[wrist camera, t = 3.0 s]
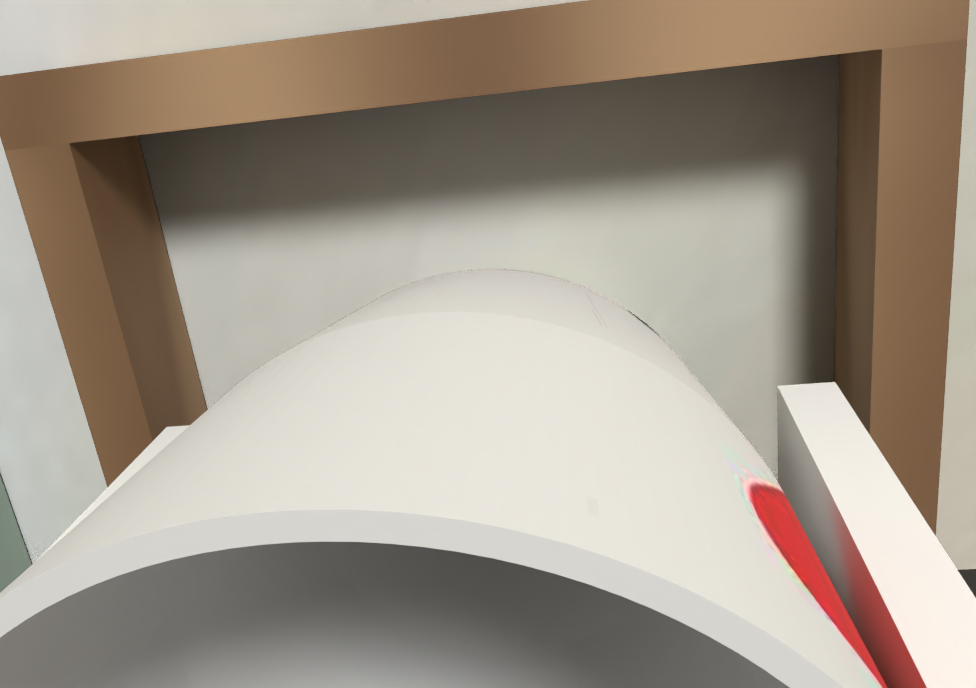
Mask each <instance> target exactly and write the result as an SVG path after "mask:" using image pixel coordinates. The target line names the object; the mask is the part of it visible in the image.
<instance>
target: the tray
mask: <svg viewBox="0 0 976 688" xmlns="http://www.w3.org/2000/svg"><path fill="white" fill-rule="evenodd" d="M31 565H32V564H31V561H30V558H29V556H28V553H27V550H26V547H25V544H24V541H23V538H22V536H21V533H20V530H19V527H18V524H17V521H16V519H15V516H14V513H13V510H12V507H11V504H10V502H9V499H8V496H7V493H6V490H5V487H4V484H3V482H2V479H1V476H0V593H1V592H2V591H3V590H4V589H5V588H6V587H7V586H8V585H10V584H11V583H12V582H13V581H14V580H15V579H16V578H18V577H19V576H20V575H21V574H22V573H23V572H24V571H25V570H27V569H28V568H29V567H30V566H31Z"/></svg>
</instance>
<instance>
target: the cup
mask: <svg viewBox="0 0 976 688" xmlns="http://www.w3.org/2000/svg"><path fill="white" fill-rule="evenodd" d="M0 688H888V687H887V686H886V684H885V682H884V680H883V678H882V676H881V674H880V672H879V671H878V669H877V667H876V665H875V663H874V661H873V659H872V657H871V656H870V654H869V652H868V650H867V648H866V646H865V644H864V642H863V640H862V639H861V637H860V635H859V633H858V631H857V629H856V627H855V625H854V624H853V622H852V620H851V618H850V616H849V614H848V612H847V610H846V609H845V607H844V605H843V603H842V601H841V599H840V597H839V595H838V594H837V592H836V590H835V588H834V586H833V584H832V582H831V580H830V579H829V577H828V575H827V573H826V571H825V569H824V567H823V565H822V563H821V562H820V560H819V558H818V556H817V554H816V552H815V550H814V548H813V547H812V545H811V543H810V541H809V539H808V537H807V535H806V533H805V532H804V530H803V528H802V526H801V524H800V522H799V520H798V518H797V517H796V515H795V513H794V511H793V509H792V507H791V505H790V503H789V501H788V500H787V498H786V496H785V494H784V492H783V491H782V489H781V487H780V485H779V483H778V482H777V480H776V479H775V477H774V476H773V474H772V472H771V471H770V469H769V468H768V467H767V465H766V464H765V462H764V461H763V459H762V458H761V457H760V455H759V454H758V453H757V452H756V450H755V449H754V448H753V447H752V445H751V444H750V443H749V442H748V440H747V439H746V438H745V437H744V436H743V434H742V433H741V432H740V431H739V430H738V428H737V427H736V426H735V425H734V423H733V422H732V421H731V420H730V419H729V417H728V416H727V415H726V414H725V412H724V411H723V410H722V409H721V408H720V406H719V405H718V404H717V403H716V402H715V400H714V399H713V398H712V397H711V395H710V394H709V393H708V392H707V391H706V389H705V388H704V387H703V386H702V385H701V383H700V382H699V381H698V380H697V378H696V377H695V376H694V375H693V374H692V372H691V371H690V370H689V369H688V367H687V366H686V365H685V364H684V363H683V361H682V360H681V359H680V358H679V357H678V355H677V354H676V353H675V352H674V351H673V349H672V348H671V347H670V346H669V345H668V344H667V343H666V342H665V341H664V340H663V339H662V338H661V337H660V336H659V335H658V334H657V333H656V332H655V331H654V330H653V329H652V328H650V327H649V326H648V325H647V324H646V323H644V322H643V321H642V320H640V319H639V318H638V317H636V316H635V315H634V314H632V313H631V312H629V311H628V310H626V309H625V308H623V307H622V306H620V305H618V304H617V303H615V302H613V301H612V300H610V299H608V298H606V297H604V296H602V295H600V294H598V293H596V292H594V291H591V290H589V289H587V288H584V287H582V286H579V285H576V284H574V283H571V282H568V281H565V280H561V279H558V278H554V277H550V276H546V275H541V274H536V273H530V272H524V271H515V270H499V269H482V270H467V271H459V272H452V273H446V274H441V275H437V276H433V277H429V278H425V279H422V280H419V281H416V282H413V283H410V284H407V285H405V286H402V287H400V288H398V289H395V290H393V291H391V292H389V293H387V294H385V295H383V296H381V297H379V298H378V299H376V300H374V301H372V302H371V303H369V304H367V305H365V306H364V307H362V308H360V309H359V310H357V311H355V312H353V313H352V314H350V315H348V316H346V317H345V318H343V319H341V320H339V321H338V322H336V323H334V324H333V325H331V326H329V327H327V328H326V329H324V330H322V331H320V332H319V333H317V334H315V335H313V336H312V337H310V338H308V339H307V340H305V341H303V342H301V343H300V344H298V345H296V346H294V347H293V348H291V349H289V350H287V351H286V352H284V353H282V354H281V355H279V356H277V357H275V358H274V359H272V360H270V361H269V362H267V363H266V364H264V365H262V366H261V367H259V368H258V369H256V370H255V371H254V372H252V373H251V374H249V375H248V376H247V377H245V378H244V379H243V380H242V381H240V382H239V383H238V384H237V385H235V386H234V387H233V388H232V389H231V390H229V391H228V392H227V393H226V394H225V395H224V396H223V397H222V398H220V399H219V400H218V401H217V402H216V403H215V404H214V405H212V406H211V407H210V408H209V409H208V410H207V411H206V412H205V413H203V414H202V415H201V416H200V417H199V418H198V419H197V420H195V421H194V422H193V423H192V424H191V425H190V426H189V427H188V428H186V429H185V430H184V431H183V432H182V433H181V434H180V435H178V436H177V437H176V438H175V439H174V440H173V441H172V442H171V443H169V444H168V445H167V446H166V447H165V448H164V449H163V450H161V451H160V452H159V453H158V454H157V455H156V456H155V457H154V458H152V459H151V460H150V461H149V462H148V463H147V464H146V465H144V466H143V467H142V468H141V469H140V470H139V471H138V472H137V473H135V474H134V475H133V476H132V477H131V478H130V479H129V480H127V481H126V482H125V483H124V484H123V485H122V486H121V487H120V488H118V489H117V490H116V491H115V492H114V493H113V494H112V495H110V496H109V497H108V498H107V499H106V500H105V501H104V502H103V503H101V504H100V505H99V506H98V507H97V508H96V509H95V510H93V511H92V512H91V513H90V514H89V515H88V516H87V517H86V518H84V519H83V520H82V521H81V522H80V523H79V524H78V525H76V526H75V527H74V528H73V529H72V530H71V531H70V532H69V533H67V534H66V535H65V536H64V537H63V538H62V539H61V540H59V541H58V542H57V543H56V544H55V545H54V546H53V547H52V548H50V549H49V550H48V551H47V552H46V553H45V554H44V555H42V556H41V557H40V558H39V559H38V560H37V561H36V562H35V563H33V564H32V565H31V566H30V567H29V568H28V569H27V570H25V571H24V572H23V573H22V574H21V575H20V576H19V577H18V578H16V579H15V580H14V581H13V582H12V583H11V584H10V585H8V586H7V587H6V588H5V589H4V590H3V591H2V592H1V593H0Z"/></svg>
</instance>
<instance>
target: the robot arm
mask: <svg viewBox="0 0 976 688" xmlns="http://www.w3.org/2000/svg"><path fill="white" fill-rule="evenodd" d="M777 399H778V483H779V485H780V487H781V489H782V491H783V492H784V494H785V496H786V498H787V500H788V501H789V503H790V505H791V507H792V509H793V511H794V513H795V515H796V517H797V518H798V520H799V522H800V524H801V526H802V528H803V530H804V532H805V533H806V535H807V537H808V539H809V541H810V543H811V545H812V547H813V548H814V550H815V552H816V554H817V556H818V558H819V560H820V562H821V563H822V565H823V567H824V569H825V571H826V573H827V575H828V577H829V579H830V580H831V582H832V584H833V586H834V588H835V590H836V592H837V594H838V595H839V597H840V599H841V601H842V603H843V605H844V607H845V609H846V610H847V612H848V614H849V616H850V618H851V620H852V622H853V624H854V625H855V627H856V629H857V631H858V633H859V635H860V637H861V639H862V640H863V642H864V644H865V646H866V648H867V650H868V652H869V654H870V656H871V657H872V659H873V661H874V663H875V665H876V667H877V669H878V671H879V672H880V674H881V676H882V678H883V680H884V682H885V684H886V686H887V687H888V688H976V569H969V570H957V568H956V567H955V565H954V564H953V562H952V561H951V559H950V558H949V556H948V555H947V553H946V552H945V550H944V548H943V547H942V545H941V544H940V542H939V541H938V539H937V538H936V536H935V535H934V533H933V532H932V530H931V528H930V527H929V525H928V524H927V522H926V521H925V519H924V518H923V516H922V515H921V513H920V512H919V510H918V508H917V507H916V505H915V504H914V502H913V501H912V499H911V498H910V496H909V495H908V493H907V492H906V490H905V489H904V487H903V485H902V484H901V482H900V481H899V479H898V478H897V476H896V475H895V473H894V472H893V470H892V469H891V467H890V465H889V464H888V462H887V461H886V459H885V458H884V456H883V455H882V453H881V452H880V450H879V449H878V447H877V445H876V444H875V442H874V441H873V439H872V438H871V436H870V435H869V433H868V432H867V430H866V429H865V427H864V426H863V424H862V422H861V421H860V419H859V418H858V416H857V415H856V413H855V412H854V410H853V409H852V407H851V406H850V404H849V402H848V401H847V399H846V398H845V396H844V395H843V393H842V392H841V390H840V389H839V387H838V386H837V384H836V382H827V383H812V384H797V385H782V386H777ZM189 426H190V425H187V426H173V427H166V428H165V429H164V430H163V431H162V432H161V433H160V434H159V435H158V436H157V437H156V438H155V440H154V441H153V442H152V443H151V444H150V445H149V446H148V447H147V448H146V449H145V450H144V451H143V452H142V453H141V454H140V455H139V456H138V457H137V458H136V459H135V460H134V461H133V462H132V463H131V464H130V465H129V466H128V467H127V468H126V469H125V470H124V471H123V472H122V473H121V474H120V475H119V476H118V477H117V478H116V479H115V480H114V481H113V482H112V484H111V485H110V486H109V487H108V488H107V489H106V490H105V491H104V492H103V493H102V494H101V495H100V496H99V497H98V498H97V499H96V500H95V501H94V502H93V503H92V504H91V505H90V506H89V507H88V508H87V509H86V510H85V511H84V512H83V513H82V514H81V515H80V516H79V517H78V518H77V519H76V520H75V521H74V522H73V523H72V524H71V525H70V527H69V528H68V529H67V530H66V531H65V532H64V533H63V534H62V535H61V536H60V537H59V538H58V539H57V540H56V541H55V542H54V543H53V544H52V545H51V546H50V547H49V548H48V549H47V550H46V551H45V552H44V553H43V554H42V555H44V554H45V553H46V552H47V551H48V550H49V549H50V548H52V547H53V546H54V545H55V544H56V543H57V542H58V541H59V540H61V539H62V538H63V537H64V536H65V535H66V534H67V533H69V532H70V531H71V530H72V529H73V528H74V527H75V526H76V525H78V524H79V523H80V522H81V521H82V520H83V519H84V518H86V517H87V516H88V515H89V514H90V513H91V512H92V511H93V510H95V509H96V508H97V507H98V506H99V505H100V504H101V503H103V502H104V501H105V500H106V499H107V498H108V497H109V496H110V495H112V494H113V493H114V492H115V491H116V490H117V489H118V488H120V487H121V486H122V485H123V484H124V483H125V482H126V481H127V480H129V479H130V478H131V477H132V476H133V475H134V474H135V473H137V472H138V471H139V470H140V469H141V468H142V467H143V466H144V465H146V464H147V463H148V462H149V461H150V460H151V459H152V458H154V457H155V456H156V455H157V454H158V453H159V452H160V451H161V450H163V449H164V448H165V447H166V446H167V445H168V444H169V443H171V442H172V441H173V440H174V439H175V438H176V437H177V436H178V435H180V434H181V433H182V432H183V431H184V430H185V429H186V428H188V427H189ZM42 555H41V556H42ZM41 556H40V557H41ZM40 557H39V558H40ZM39 558H38V559H39ZM38 559H37V560H38ZM37 560H36V561H37ZM36 561H35V562H36ZM35 562H34V563H35Z"/></svg>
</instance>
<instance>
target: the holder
mask: <svg viewBox="0 0 976 688" xmlns="http://www.w3.org/2000/svg"><path fill="white" fill-rule="evenodd" d="M969 1H970V0H588V1H580V2H572V3H565V4H557V5H549V6H541V7H533V8H526V9H518V10H510V11H502V12H494V13H487V14H479V15H471V16H463V17H455V18H448V19H440V20H432V21H424V22H416V23H409V24H401V25H393V26H385V27H377V28H370V29H362V30H354V31H346V32H338V33H331V34H323V35H315V36H307V37H299V38H292V39H284V40H276V41H268V42H261V43H253V44H245V45H237V46H229V47H222V48H214V49H206V50H198V51H190V52H183V53H175V54H167V55H159V56H151V57H144V58H136V59H128V60H120V61H112V62H105V63H97V64H89V65H81V66H73V67H66V68H58V69H50V70H43V71H35V72H28V73H20V74H13V75H5V76H0V137H1V140H2V144H3V147H4V150H5V153H6V157H7V160H8V163H9V166H10V170H11V173H12V176H13V179H14V183H15V186H16V189H17V193H18V196H19V199H20V202H21V206H22V209H23V212H24V215H25V219H26V222H27V225H28V228H29V232H30V235H31V238H32V242H33V245H34V248H35V251H36V255H37V258H38V261H39V264H40V268H41V271H42V274H43V278H44V281H45V284H46V287H47V291H48V294H49V297H50V300H51V304H52V307H53V310H54V313H55V317H56V320H57V323H58V327H59V330H60V333H61V336H62V340H63V343H64V346H65V349H66V353H67V356H68V359H69V362H70V366H71V369H72V372H73V376H74V379H75V382H76V385H77V389H78V392H79V395H80V398H81V402H82V405H83V408H84V411H85V415H86V418H87V421H88V425H89V428H90V431H91V434H92V438H93V441H94V444H95V447H96V451H97V454H98V457H99V461H100V464H101V467H102V470H103V474H104V477H105V480H106V483H107V487H109V486H110V485H111V484H112V482H113V481H114V480H115V479H116V478H117V477H118V476H119V475H120V474H121V473H122V472H123V471H124V470H125V469H126V468H127V467H128V466H129V465H130V464H131V463H132V462H133V461H134V460H135V459H136V458H137V457H138V456H139V455H140V454H141V453H142V452H143V451H144V450H145V449H146V448H147V447H148V446H149V445H150V444H151V443H152V442H153V441H154V440H155V438H156V437H157V436H158V435H159V434H160V433H161V432H162V431H163V430H164V429H165V428H166V427H173V426H187V425H191V424H192V423H193V422H194V421H195V420H197V419H198V418H199V417H200V416H201V415H202V414H203V413H205V412H206V411H207V407H206V403H205V399H204V395H203V391H202V387H201V383H200V379H199V375H198V371H197V367H196V364H195V360H194V356H193V352H192V348H191V344H190V340H189V336H188V332H187V328H186V324H185V320H184V316H183V312H182V308H181V304H180V300H179V296H178V292H177V288H176V284H175V281H174V277H173V273H172V269H171V265H170V261H169V257H168V253H167V249H166V245H165V241H164V237H163V233H162V229H161V225H160V221H159V217H158V213H157V209H156V205H155V201H154V198H153V194H152V190H151V186H150V182H149V178H148V174H147V170H146V166H145V162H144V158H143V154H142V150H141V146H140V142H139V138H138V135H144V134H152V133H161V132H170V131H178V130H187V129H196V128H204V127H213V126H222V125H230V124H239V123H247V122H256V121H265V120H273V119H282V118H291V117H299V116H308V115H317V114H325V113H334V112H343V111H351V110H360V109H368V108H377V107H386V106H394V105H403V104H412V103H420V102H429V101H438V100H446V99H455V98H464V97H472V96H481V95H489V94H498V93H507V92H515V91H524V90H533V89H541V88H550V87H559V86H567V85H576V84H585V83H593V82H602V81H610V80H619V79H628V78H636V77H645V76H654V75H662V74H671V73H680V72H688V71H697V70H706V69H714V68H723V67H731V66H740V65H749V64H757V63H766V62H775V61H783V60H792V59H801V58H809V57H818V56H827V55H835V54H839V115H838V176H837V237H836V298H835V360H834V382H836V384H837V386H838V387H839V389H840V390H841V392H842V393H843V395H844V396H845V398H846V399H847V401H848V402H849V404H850V406H851V407H852V409H853V410H854V412H855V413H856V415H857V416H858V418H859V419H860V421H861V422H862V424H863V426H864V427H865V429H866V430H867V432H868V433H869V435H870V436H871V438H872V439H873V441H874V442H875V444H876V445H877V447H878V449H879V450H880V452H881V453H882V455H883V456H884V458H885V459H886V461H887V462H888V464H889V465H890V467H891V469H892V470H893V472H894V473H895V475H896V476H897V478H898V479H899V481H900V482H901V484H902V485H903V487H904V489H905V490H906V492H907V493H908V495H909V496H910V498H911V499H912V501H913V502H914V504H915V505H916V507H917V508H918V510H919V512H920V513H921V515H922V516H923V518H924V519H925V521H926V522H927V524H928V525H929V527H930V528H931V530H932V532H933V533H934V535H935V536H936V520H937V504H938V488H939V473H940V457H941V441H942V426H943V410H944V394H945V378H946V363H947V347H948V331H949V316H950V300H951V284H952V268H953V253H954V237H955V221H956V206H957V190H958V174H959V158H960V143H961V127H962V111H963V95H964V80H965V64H966V48H967V33H968V17H969Z"/></svg>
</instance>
